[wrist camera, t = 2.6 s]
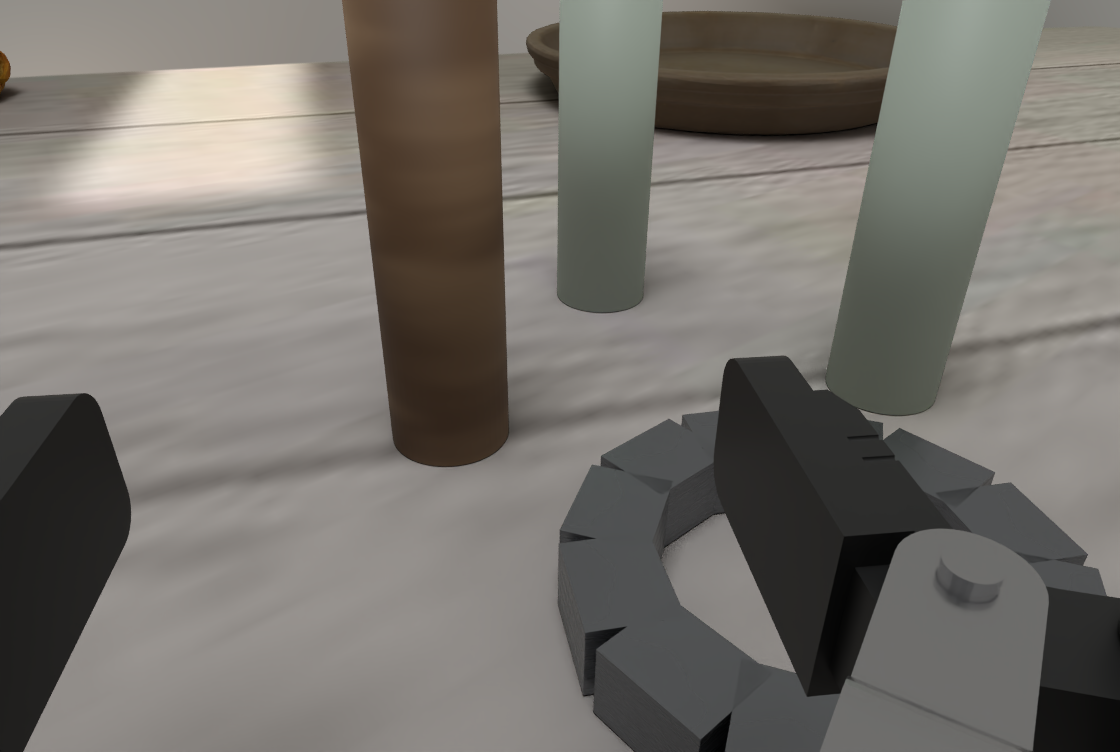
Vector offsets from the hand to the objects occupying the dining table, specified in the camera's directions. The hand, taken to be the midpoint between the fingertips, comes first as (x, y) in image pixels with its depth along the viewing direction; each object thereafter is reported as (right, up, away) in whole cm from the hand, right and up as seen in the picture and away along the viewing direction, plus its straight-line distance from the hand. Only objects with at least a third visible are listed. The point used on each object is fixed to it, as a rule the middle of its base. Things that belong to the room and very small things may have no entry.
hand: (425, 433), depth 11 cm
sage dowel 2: (+12, 0, +16) cm, 20 cm away
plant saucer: (+15, +23, +54) cm, 60 cm away
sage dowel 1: (+3, +4, +22) cm, 23 cm away
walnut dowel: (-1, -1, +14) cm, 14 cm away
